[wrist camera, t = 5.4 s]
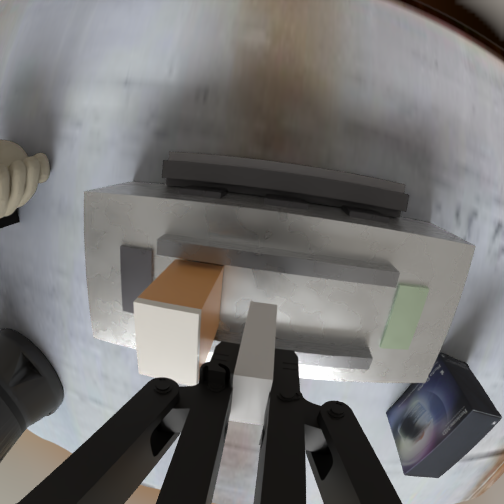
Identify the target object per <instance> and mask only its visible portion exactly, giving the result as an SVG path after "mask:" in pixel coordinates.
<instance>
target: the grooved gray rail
mask: <svg viewBox="0 0 504 504" xmlns="http://www.w3.org/2000/svg"><path fill="white" fill-rule="evenodd" d="M162 178H167V183H166V185H167V186H178V187H186V186H189V185H196V186H206V187H215V188H225V189H228V192H235V193H243V194H251V195H259V196H266V194H273V195H281V196H288V197H295V198H302V199H305V200H306V202H310V203H316V204H323V205H329V206H335V207H341V208H342V205H346V206H352V207H358V208H363V209H369V210H375V211H378V212H380V213H382V214H384V215H387V216H392V217H397V218H399V217H400V212H401V211H405V212H406V210H407V204H408V199H409V195H408V194H404V190H405V184H400V183H396V182H391V181H387V180H382V179H377V178H372V177H367V176H362V175H357V174H352V173H346V172H341V171H335V170H329V169H323V168H317V167H311V166H304V165H297V164H290V163H283V162H276V161H268V160H260V159H251V158H242V157H232V156H222V155H211V154H199V153H185V152H169V159H168V160H165V161H163V170H162Z"/></svg>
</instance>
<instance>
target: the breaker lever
mask: <svg viewBox="0 0 504 504" xmlns="http://www.w3.org/2000/svg"><path fill="white" fill-rule="evenodd" d="M223 270H224V266H219V265H212V264H205V263H199V262H192V261H185V260H178V259H175V260H174V261H173V262H172V263H171V264H170V265H169V266H168V267H167V268H166V269H165V270H164V271H163V272H162V273H161V274H160V275H159V276H158V277H157V278H156V279H155V280H154V281H153V282H152V283H151V284H150V285H149V286H148V287H147V288H146V289H145V290H144V291H143V292H142V293H141V294H140V295H139V296H138V297H137V299H136V300H135V301H134V302H133V305H134V323H135V337H136V349H137V360H138V369H139V374H142V375H146V376H150V377H154V378H158V377H166V378H170V379H172V380H174V381H175V382H176V383H179V384H184V385H189V386H194V385H197V384H198V381H199V370H200V367H201V365H202V364H204V363H205V362H206V359H207V357H208V354H209V351H210V348H211V346H212V343H213V340H214V338H215V335H216V332H217V329H218V327H219V316H220V304H221V293H222V281H223Z"/></svg>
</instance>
